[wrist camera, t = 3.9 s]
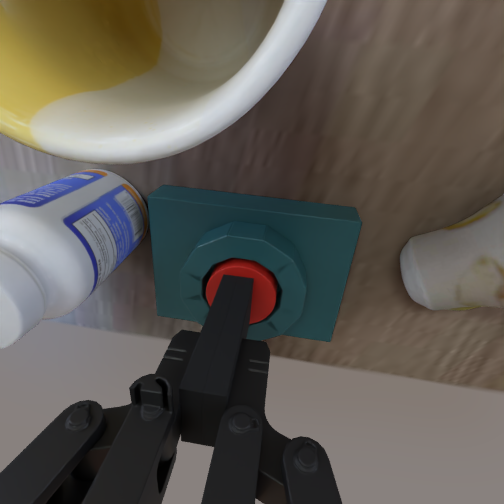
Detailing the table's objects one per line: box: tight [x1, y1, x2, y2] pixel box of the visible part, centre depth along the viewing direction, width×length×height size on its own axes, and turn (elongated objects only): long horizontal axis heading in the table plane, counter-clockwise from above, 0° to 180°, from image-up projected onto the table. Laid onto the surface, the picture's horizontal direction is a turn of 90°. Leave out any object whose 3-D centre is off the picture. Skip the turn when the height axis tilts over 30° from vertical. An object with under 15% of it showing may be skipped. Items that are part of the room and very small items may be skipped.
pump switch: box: [148, 185, 362, 342], centre depth 18 cm, size 11×8×4 cm
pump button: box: [206, 258, 278, 324], centre depth 17 cm, size 4×4×2 cm
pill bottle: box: [0, 169, 149, 348], centre depth 15 cm, size 5×5×10 cm
